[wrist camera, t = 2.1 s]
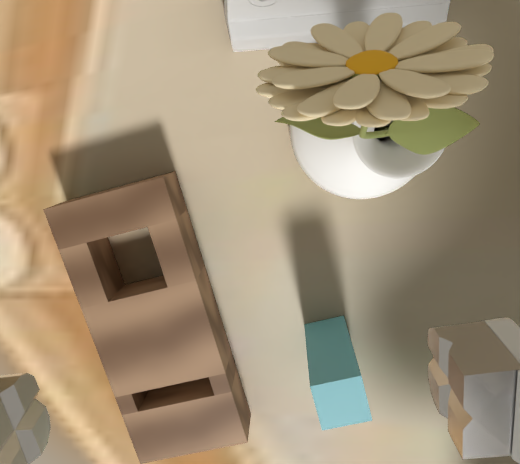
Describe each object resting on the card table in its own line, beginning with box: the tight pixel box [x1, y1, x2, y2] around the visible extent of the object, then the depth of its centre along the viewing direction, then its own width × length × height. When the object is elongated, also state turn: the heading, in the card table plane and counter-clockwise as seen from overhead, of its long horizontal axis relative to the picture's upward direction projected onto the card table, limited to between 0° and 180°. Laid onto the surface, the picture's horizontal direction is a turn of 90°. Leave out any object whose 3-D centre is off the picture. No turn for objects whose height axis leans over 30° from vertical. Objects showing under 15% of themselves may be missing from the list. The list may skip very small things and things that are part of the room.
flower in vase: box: [256, 13, 494, 199], centre depth 25 cm, size 13×11×25 cm
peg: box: [304, 316, 372, 430], centre depth 37 cm, size 4×4×10 cm
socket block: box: [44, 171, 251, 464], centre depth 40 cm, size 24×10×4 cm, turn 15°
